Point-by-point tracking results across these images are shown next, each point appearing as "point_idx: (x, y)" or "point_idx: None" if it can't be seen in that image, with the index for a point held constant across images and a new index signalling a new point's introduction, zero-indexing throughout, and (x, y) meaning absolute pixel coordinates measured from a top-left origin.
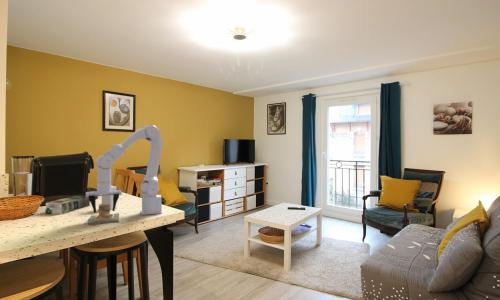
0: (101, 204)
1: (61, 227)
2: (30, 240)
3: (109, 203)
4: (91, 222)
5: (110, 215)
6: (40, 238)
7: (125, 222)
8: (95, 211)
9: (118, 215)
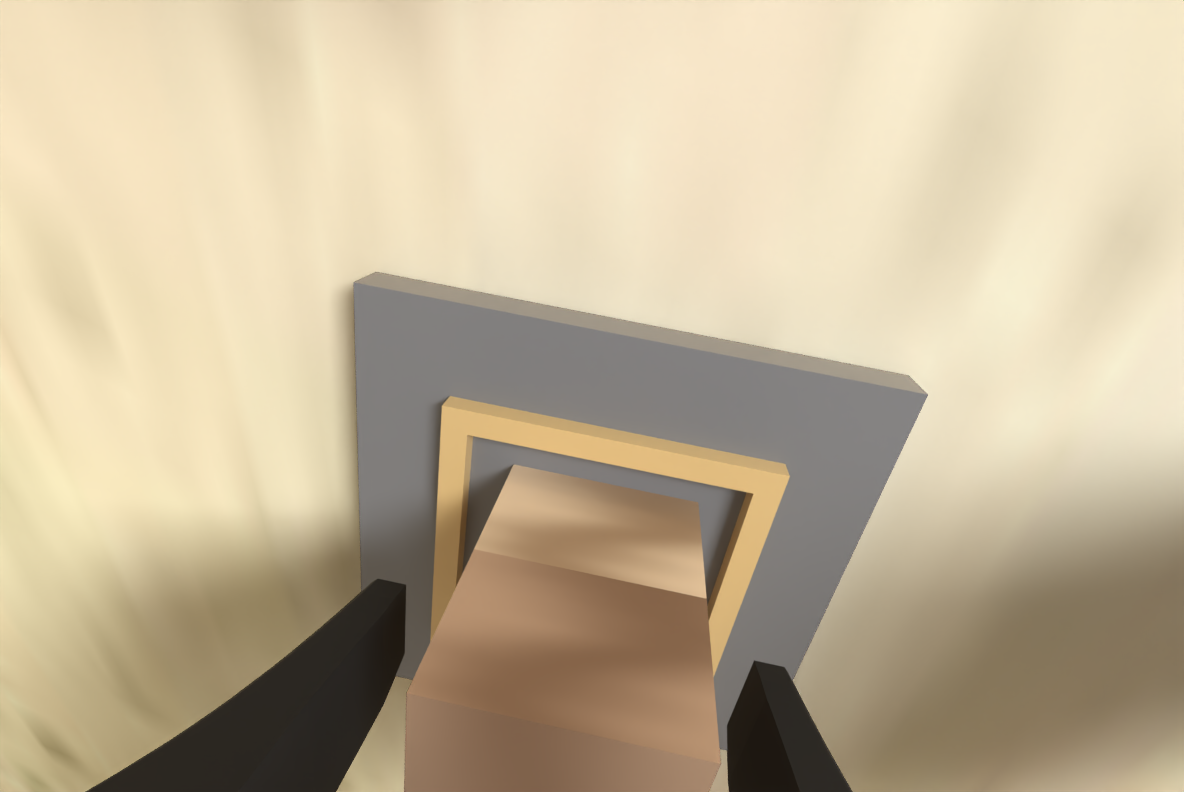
0: (466, 763)
1: (92, 571)
2: (7, 771)
3: (699, 774)
4: (406, 675)
5: (713, 475)
6: (59, 770)
7: None
8: (392, 682)
9: (846, 547)
